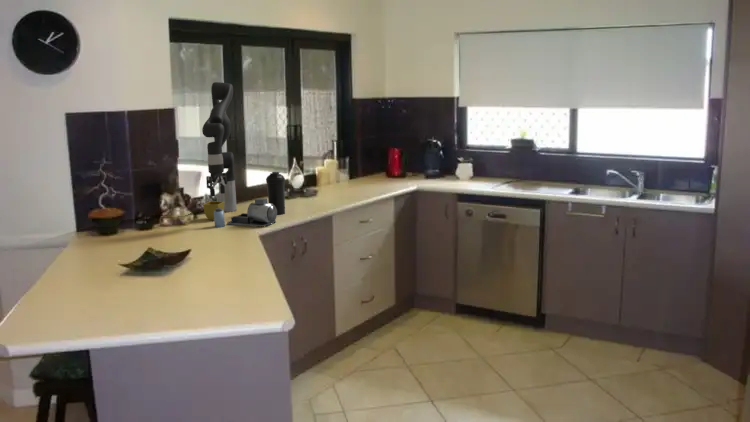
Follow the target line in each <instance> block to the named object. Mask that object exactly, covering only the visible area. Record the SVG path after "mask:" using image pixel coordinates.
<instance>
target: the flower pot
mask: <svg viewBox="0 0 750 422" xmlns="http://www.w3.org/2000/svg"><path fill="white" fill-rule="evenodd" d="M202 206H203V211H204V215H205V216H206V219H207V220H209V221H214V211H216V210H215V209H216V208H222V210H224V202H218V200H217V201H213V200H212V201H207V202H206V203H203V204H202Z"/></svg>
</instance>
